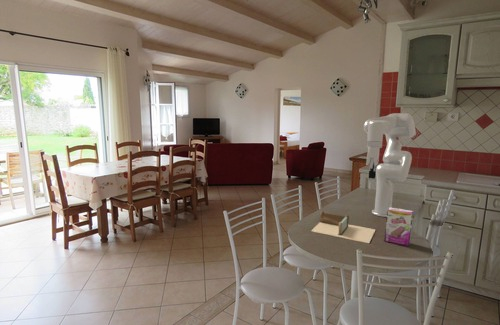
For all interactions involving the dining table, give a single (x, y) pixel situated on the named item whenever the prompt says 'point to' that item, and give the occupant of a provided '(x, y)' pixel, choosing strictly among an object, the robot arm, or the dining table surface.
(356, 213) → the dining table surface
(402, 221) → the candy bar box
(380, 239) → the dining table surface
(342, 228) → the hinged panel
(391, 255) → the dining table surface
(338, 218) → the fence base
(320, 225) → the card
